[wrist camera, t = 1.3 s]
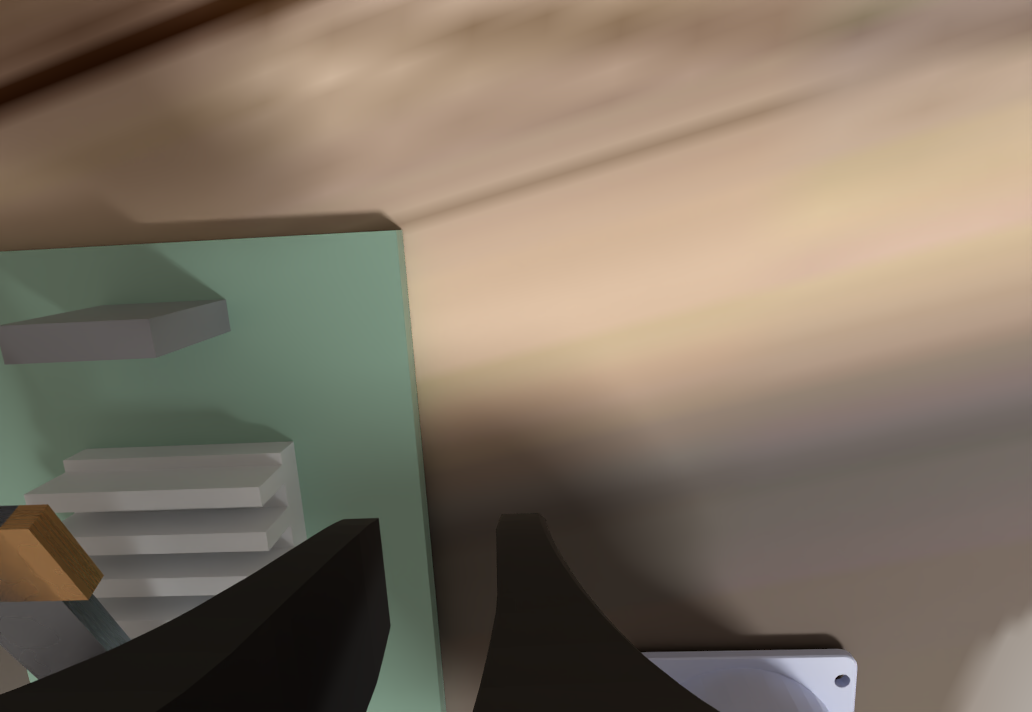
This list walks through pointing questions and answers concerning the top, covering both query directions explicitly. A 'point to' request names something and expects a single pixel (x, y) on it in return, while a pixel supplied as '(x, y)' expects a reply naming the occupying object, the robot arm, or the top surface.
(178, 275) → the heatsink board
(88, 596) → the brown and grey bar
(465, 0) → the top surface
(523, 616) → the robot arm
